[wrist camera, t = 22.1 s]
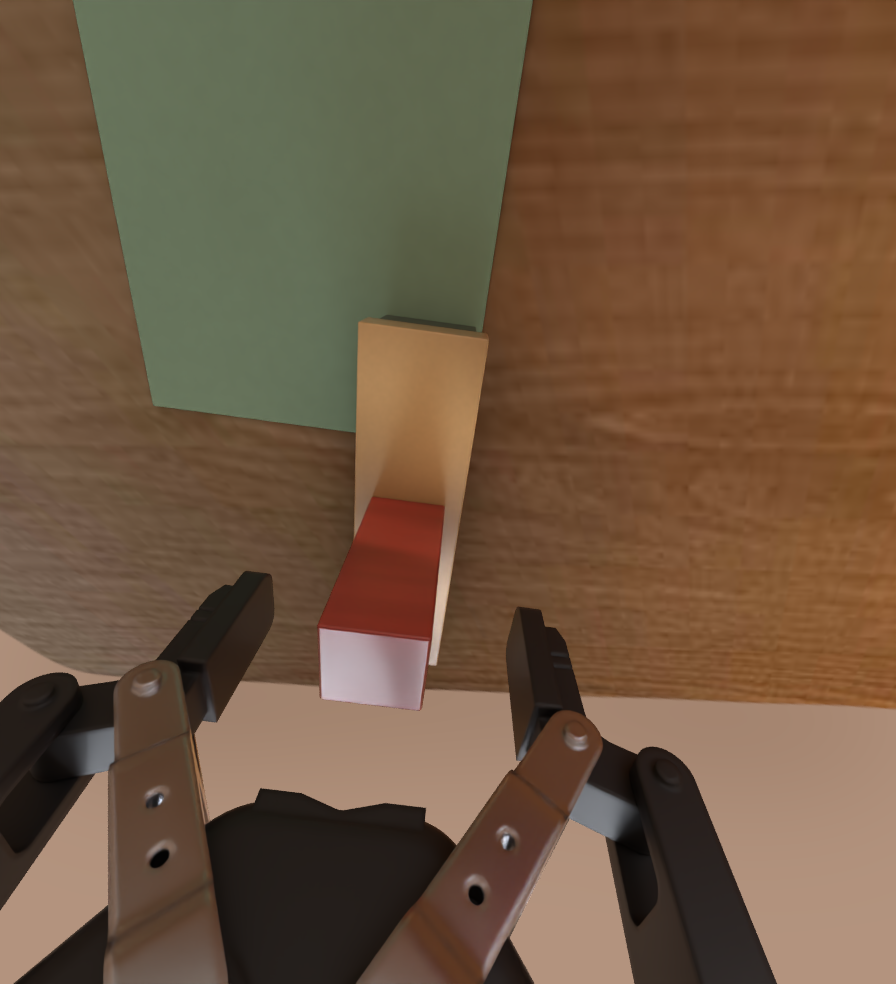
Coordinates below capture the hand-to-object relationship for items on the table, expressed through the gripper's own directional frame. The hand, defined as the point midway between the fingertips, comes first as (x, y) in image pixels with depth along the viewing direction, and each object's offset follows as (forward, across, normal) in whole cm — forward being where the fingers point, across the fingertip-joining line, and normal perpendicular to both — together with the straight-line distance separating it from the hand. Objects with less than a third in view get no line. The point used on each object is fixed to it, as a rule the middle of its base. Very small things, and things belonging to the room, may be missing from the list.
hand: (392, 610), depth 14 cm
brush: (+8, 0, 0) cm, 8 cm away
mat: (+8, +5, -12) cm, 15 cm away
